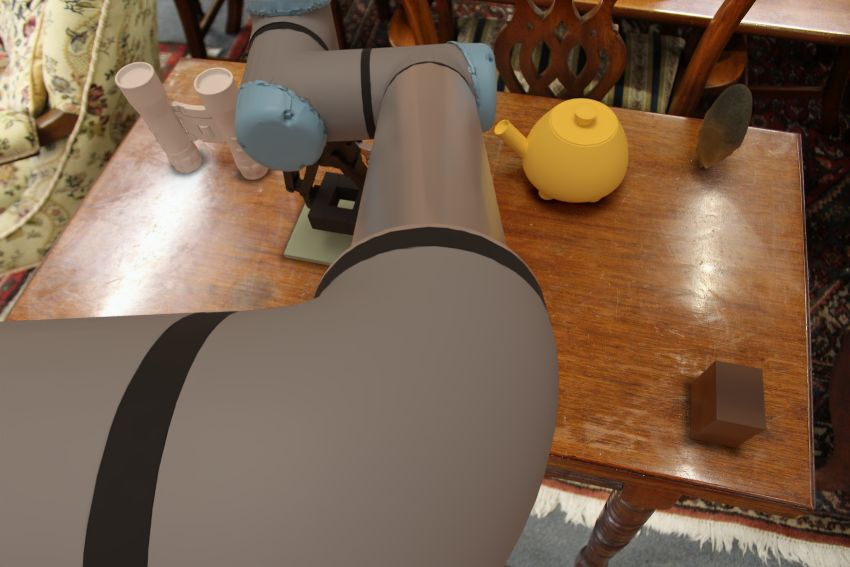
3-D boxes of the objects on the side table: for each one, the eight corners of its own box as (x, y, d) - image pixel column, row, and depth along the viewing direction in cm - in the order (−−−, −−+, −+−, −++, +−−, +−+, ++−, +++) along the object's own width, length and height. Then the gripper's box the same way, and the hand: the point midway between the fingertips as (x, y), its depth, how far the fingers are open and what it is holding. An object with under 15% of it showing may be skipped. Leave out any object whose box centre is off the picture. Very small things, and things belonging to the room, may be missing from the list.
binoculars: (275, 158, 93) (238, 68, 77) (265, 183, 90) (225, 95, 74) (179, 149, 95) (124, 60, 79) (167, 173, 92) (107, 86, 77)
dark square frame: (366, 238, 76) (363, 225, 74) (312, 228, 78) (307, 216, 75) (382, 193, 80) (379, 179, 78) (330, 185, 82) (325, 171, 79)
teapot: (488, 212, 85) (493, 148, 73) (493, 137, 92) (498, 68, 81) (623, 220, 83) (650, 155, 71) (617, 142, 90) (641, 72, 79)
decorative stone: (684, 141, 90) (722, 63, 77) (724, 149, 89) (769, 71, 76) (678, 186, 85) (717, 112, 72) (719, 195, 84) (767, 121, 71)
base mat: (401, 278, 80) (399, 266, 77) (285, 257, 83) (278, 244, 80) (421, 212, 85) (420, 198, 82) (311, 195, 88) (306, 180, 85)
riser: (734, 448, 66) (766, 429, 59) (689, 438, 67) (716, 419, 60) (732, 392, 69) (762, 368, 62) (690, 384, 70) (715, 360, 63)
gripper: (415, 93, 62) (426, 215, 82) (244, 71, 66) (294, 194, 85) (398, 141, 59) (413, 257, 78) (218, 116, 62) (276, 234, 82)
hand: (351, 224), depth 82 cm, fingers closed on dark square frame, 8 cm apart
